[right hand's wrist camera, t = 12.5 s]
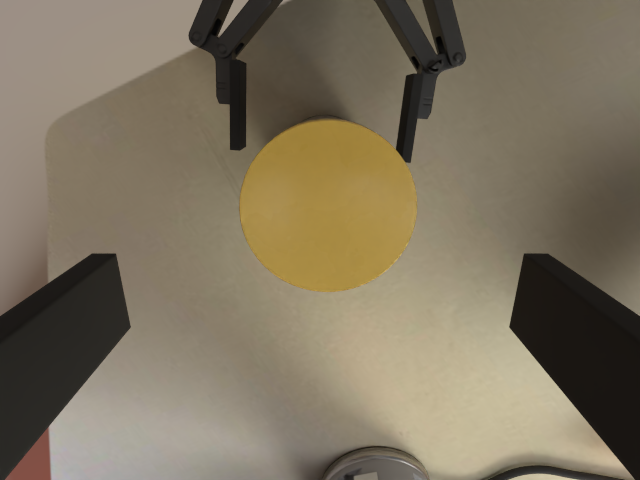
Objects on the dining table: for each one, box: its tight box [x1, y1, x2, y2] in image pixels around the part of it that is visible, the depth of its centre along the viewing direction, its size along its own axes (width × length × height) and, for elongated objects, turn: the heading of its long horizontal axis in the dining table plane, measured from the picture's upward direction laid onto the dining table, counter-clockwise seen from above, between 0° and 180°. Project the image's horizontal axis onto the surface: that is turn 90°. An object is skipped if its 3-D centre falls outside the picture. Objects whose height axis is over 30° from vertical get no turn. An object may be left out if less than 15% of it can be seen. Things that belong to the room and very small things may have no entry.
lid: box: [239, 119, 417, 292], centre depth 21 cm, size 9×9×2 cm
